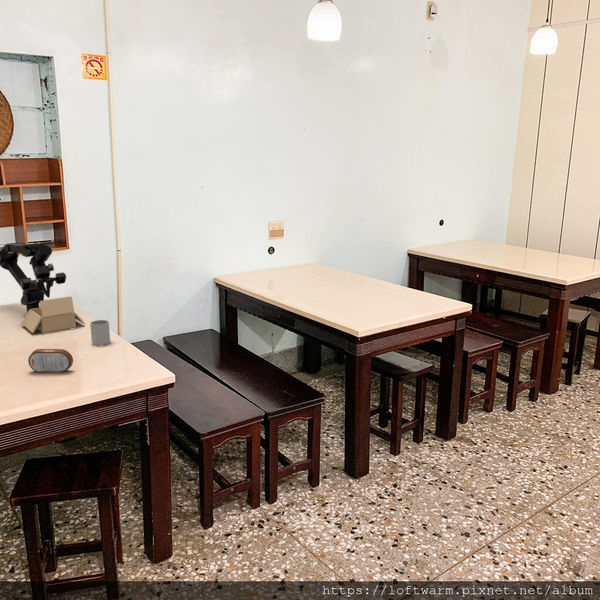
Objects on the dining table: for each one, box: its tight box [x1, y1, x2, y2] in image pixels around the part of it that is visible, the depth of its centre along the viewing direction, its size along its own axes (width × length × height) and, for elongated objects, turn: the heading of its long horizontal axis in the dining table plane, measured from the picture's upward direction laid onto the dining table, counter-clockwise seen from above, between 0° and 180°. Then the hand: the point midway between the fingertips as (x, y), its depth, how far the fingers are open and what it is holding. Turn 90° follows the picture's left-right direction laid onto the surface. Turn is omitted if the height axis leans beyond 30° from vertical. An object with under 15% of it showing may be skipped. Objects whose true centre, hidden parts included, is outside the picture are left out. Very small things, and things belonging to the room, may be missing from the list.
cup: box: [89, 319, 111, 347], centre depth 245 cm, size 7×10×9 cm
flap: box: [39, 296, 75, 317], centre depth 258 cm, size 7×13×1 cm
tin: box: [27, 348, 74, 374], centre depth 212 cm, size 15×3×8 cm, turn 92°
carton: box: [21, 307, 86, 335], centre depth 268 cm, size 22×22×7 cm
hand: (48, 297), depth 266 cm, fingers closed
